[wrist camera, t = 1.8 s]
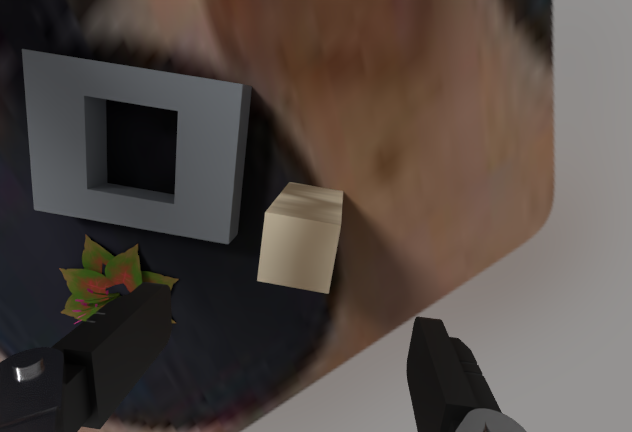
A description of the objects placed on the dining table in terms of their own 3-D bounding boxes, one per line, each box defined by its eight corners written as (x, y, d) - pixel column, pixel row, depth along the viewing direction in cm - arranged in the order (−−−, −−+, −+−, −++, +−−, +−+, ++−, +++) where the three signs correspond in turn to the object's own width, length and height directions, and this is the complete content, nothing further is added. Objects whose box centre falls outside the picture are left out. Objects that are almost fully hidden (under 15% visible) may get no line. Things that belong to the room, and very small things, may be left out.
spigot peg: (282, 232, 31) (257, 280, 22) (289, 182, 29) (265, 212, 21) (334, 241, 31) (328, 293, 22) (343, 191, 29) (341, 225, 21)
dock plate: (57, 202, 32) (34, 209, 29) (49, 53, 28) (21, 48, 26) (237, 233, 31) (228, 244, 29) (251, 86, 28) (242, 84, 25)
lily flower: (79, 210, 32) (37, 226, 28) (202, 270, 33) (180, 295, 28) (48, 314, 36) (6, 342, 31) (159, 366, 36) (133, 401, 32)
